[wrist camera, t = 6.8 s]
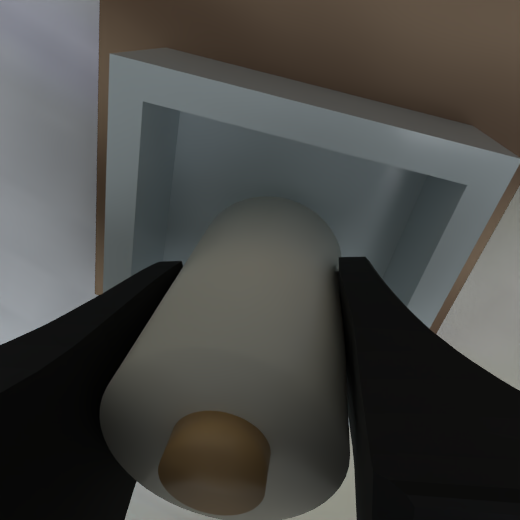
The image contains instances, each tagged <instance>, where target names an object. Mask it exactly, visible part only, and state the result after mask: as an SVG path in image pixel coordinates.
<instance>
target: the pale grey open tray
mask: <svg viewBox="0 0 520 520" xmlns="http://www.w3.org/2000/svg"><path fill="white" fill-rule="evenodd" d="M519 164H520V157H518V156H517V155H515V154H514V153H512V152H511V151H509V150H508V149H506V148H505V147H503V146H502V145H501V144H499V143H498V142H496V141H495V140H493V139H492V138H490V137H489V136H487V135H486V134H484V133H483V132H481V131H480V130H479V129H477V128H476V127H474V126H472V125H468V124H464V123H460V122H456V121H452V120H448V119H444V118H440V117H437V116H433V115H429V114H425V113H421V112H417V111H413V110H409V109H405V108H401V107H397V106H393V105H389V104H386V103H382V102H378V101H374V100H370V99H366V98H362V97H358V96H354V95H350V94H346V93H342V92H339V91H335V90H331V89H327V88H323V87H319V86H315V85H311V84H307V83H303V82H299V81H295V80H292V79H288V78H284V77H280V76H276V75H272V74H268V73H264V72H260V71H256V70H252V69H248V68H245V67H241V66H237V65H233V64H229V63H225V62H221V61H217V60H213V59H209V58H205V57H201V56H197V55H194V54H190V53H186V52H182V51H178V50H174V49H170V48H156V49H147V50H137V51H128V52H119V53H110V58H109V93H108V129H107V164H106V199H105V235H104V270H103V293H104V292H106V291H107V290H109V289H111V288H112V287H114V286H116V285H117V284H119V283H121V282H122V281H124V280H126V279H127V278H129V277H131V276H132V275H134V274H136V273H138V272H139V271H141V270H143V269H145V268H147V267H149V266H150V265H153V264H155V263H157V262H159V261H182V264H183V266H184V265H185V263H186V261H187V260H188V258H189V257H190V255H191V254H192V252H193V250H194V249H195V247H196V246H197V244H198V242H199V241H200V239H201V238H202V236H203V235H204V233H205V231H206V230H207V228H208V227H209V225H210V224H211V222H212V221H213V220H214V219H215V218H216V216H217V215H218V214H219V213H221V212H222V211H223V210H224V209H226V208H227V207H229V206H231V205H232V204H234V203H236V202H239V201H242V200H244V199H248V198H252V197H261V196H273V197H280V198H285V199H289V200H293V201H295V202H297V203H300V204H302V205H304V206H306V207H307V208H309V209H311V210H312V211H314V212H315V213H316V214H318V215H319V216H320V217H321V218H322V219H323V220H324V221H325V222H326V223H327V225H328V226H329V227H330V228H331V230H332V232H333V233H334V235H335V237H336V239H337V241H338V244H339V247H340V251H341V257H366V258H367V259H368V260H369V261H370V262H371V264H372V265H373V267H374V268H375V270H376V271H377V273H378V274H379V275H380V277H381V278H382V279H383V280H384V282H385V283H386V284H387V285H388V287H389V288H390V289H391V290H392V291H393V292H394V293H395V295H396V296H397V297H398V298H399V299H400V300H401V301H402V302H403V303H404V305H405V306H406V307H407V308H408V309H409V310H410V311H411V312H412V313H413V314H414V315H415V316H416V317H417V318H418V319H420V320H421V321H422V322H423V323H424V324H425V325H426V326H427V327H428V328H429V329H430V327H431V325H432V323H433V321H434V320H435V318H436V316H437V314H438V312H439V310H440V309H441V307H442V305H443V303H444V301H445V299H446V298H447V296H448V294H449V292H450V290H451V288H452V287H453V285H454V283H455V281H456V279H457V278H458V276H459V274H460V272H461V270H462V268H463V267H464V265H465V263H466V261H467V259H468V257H469V256H470V254H471V252H472V250H473V248H474V246H475V245H476V243H477V241H478V239H479V237H480V236H481V234H482V232H483V230H484V228H485V226H486V225H487V223H488V221H489V219H490V217H491V215H492V214H493V212H494V210H495V208H496V206H497V204H498V203H499V201H500V199H501V197H502V195H503V193H504V192H505V190H506V188H507V186H508V184H509V183H510V181H511V179H512V177H513V175H514V173H515V172H516V170H517V168H518V166H519ZM348 420H349V417H348ZM349 426H350V424H349Z"/></svg>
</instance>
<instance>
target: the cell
mask: <svg viewBox="0 0 520 520" xmlns="http://www.w3.org/2000/svg"><path fill="white" fill-rule="evenodd" d="M339 257H341V251H340V247H339V244H338V241H337V239H336V237H335V235H334V233H333V232H332V230H331V228H330V227H329V226H328V225H327V223H326V222H325V221H324V220H323V219H322V218H321V217H320V216H319V215H318V214H316V213H315V212H314V211H312V210H311V209H309V208H307V207H306V206H304V205H302V204H300V203H297V202H295V201H293V200H289V199H285V198H280V197H273V196H261V197H252V198H248V199H244V200H242V201H239V202H236V203H234V204H232V205H231V206H229V207H227V208H226V209H224V210H223V211H222V212H221V213H219V214H218V215H217V216H216V218H215V219H214V220H213V221H212V222H211V224H210V225H209V227H208V228H207V230H206V231H205V233H204V235H203V236H202V238H201V239H200V241H199V242H198V244H197V246H196V247H195V249H194V250H193V252H192V254H191V255H190V257H189V258H188V260H187V261H186V263H185V265H184V266H183V268H182V269H181V271H180V272H179V274H178V276H177V277H176V279H175V280H174V282H173V283H172V285H171V287H170V288H169V290H168V291H167V293H166V294H165V296H164V298H163V299H162V301H161V302H160V304H159V306H158V307H157V309H156V310H155V312H154V313H153V315H152V317H151V318H150V320H149V321H148V323H147V324H146V326H145V328H144V329H143V331H142V332H141V334H140V335H139V337H138V339H137V340H136V342H135V343H134V345H133V346H132V348H131V350H130V351H129V353H128V354H127V356H126V358H125V359H124V361H123V362H122V364H121V365H120V367H119V369H118V370H117V372H116V373H115V375H114V376H113V378H112V380H111V381H110V383H109V384H108V386H107V388H106V390H105V392H104V394H103V396H102V400H101V404H100V417H99V418H100V425H101V430H102V433H103V436H104V439H105V441H106V443H107V445H108V448H109V450H110V451H111V453H112V454H113V456H114V457H115V459H116V460H117V461H118V463H119V464H120V465H121V466H122V467H123V468H124V470H125V471H126V472H127V473H129V474H130V475H131V476H132V477H133V478H134V479H135V480H136V481H137V482H139V483H140V484H141V485H142V486H144V487H145V488H147V489H148V490H150V491H151V492H153V493H154V494H156V495H157V496H159V497H161V498H163V499H165V500H166V501H168V502H170V503H173V504H175V505H177V506H179V507H181V508H184V509H187V510H189V511H192V512H195V513H198V514H202V515H205V516H209V517H213V518H218V519H223V520H282V519H287V518H292V517H295V516H298V515H301V514H304V513H306V512H308V511H310V510H313V509H315V508H316V507H318V506H320V505H321V504H323V503H324V502H326V501H327V500H328V499H329V498H330V497H331V496H333V495H334V493H335V492H336V491H337V490H338V489H339V487H340V486H341V484H342V482H343V481H344V479H345V477H346V474H347V471H348V467H349V460H350V444H349V420H348V396H347V372H346V348H345V335H344V326H343V318H342V310H341V302H340V295H339Z"/></svg>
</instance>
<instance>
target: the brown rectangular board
mask: <svg viewBox="0 0 520 520" xmlns="http://www.w3.org/2000/svg"><path fill="white" fill-rule="evenodd" d="M156 48H170V49H174V50H178V51H182V52H186V53H190V54H194V55H197V56H201V57H205V58H209V59H213V60H217V61H221V62H225V63H229V64H233V65H237V66H241V67H245V68H248V69H252V70H256V71H260V72H264V73H268V74H272V75H276V76H280V77H284V78H288V79H292V80H295V81H299V82H303V83H307V84H311V85H315V86H319V87H323V88H327V89H331V90H335V91H339V92H342V93H346V94H350V95H354V96H358V97H362V98H366V99H370V100H374V101H378V102H382V103H386V104H389V105H393V106H397V107H401V108H405V109H409V110H413V111H417V112H421V113H425V114H429V115H433V116H437V117H440V118H444V119H448V120H452V121H456V122H460V123H464V124H468V125H472V126H474V127H476V128H477V129H479V130H480V131H481V132H483V133H484V134H486V135H487V136H489V137H490V138H492V139H493V140H495V141H496V142H498V143H499V144H501V145H502V146H503V147H505V148H506V149H508V150H509V151H511V152H512V153H514V154H515V155H517V156H518V157H520V0H100V20H99V80H98V141H97V201H96V262H95V294H97V295H101V294H102V293H103V270H104V235H105V199H106V164H107V129H108V93H109V58H110V53H119V52H128V51H137V50H147V49H156ZM519 185H520V164H519V166H518V168H517V170H516V172H515V173H514V175H513V177H512V179H511V181H510V183H509V184H508V186H507V188H506V190H505V192H504V193H503V195H502V197H501V199H500V201H499V203H498V204H497V206H496V208H495V210H494V212H493V214H492V215H491V217H490V219H489V221H488V223H487V225H486V226H485V228H484V230H483V232H482V234H481V236H480V237H479V239H478V241H477V243H476V245H475V246H474V248H473V250H472V252H471V254H470V256H469V257H468V259H467V261H466V263H465V265H464V267H463V268H462V270H461V272H460V274H459V276H458V278H457V279H456V281H455V283H454V285H453V287H452V288H451V290H450V292H449V294H448V296H447V298H446V299H445V301H444V303H443V305H442V307H441V309H440V310H439V312H438V314H437V316H436V318H435V320H434V321H433V323H432V325H431V327H430V330H431V331H433V332H434V333H435V334H436V333H437V331H438V329H439V328H440V326H441V324H442V322H443V321H444V319H445V317H446V315H447V313H448V312H449V310H450V308H451V306H452V305H453V303H454V301H455V299H456V297H457V296H458V294H459V292H460V290H461V289H462V287H463V285H464V283H465V281H466V280H467V278H468V276H469V274H470V273H471V271H472V269H473V267H474V265H475V264H476V262H477V260H478V258H479V257H480V255H481V253H482V251H483V249H484V248H485V246H486V244H487V242H488V241H489V239H490V237H491V235H492V233H493V232H494V230H495V228H496V226H497V225H498V223H499V221H500V219H501V217H502V216H503V214H504V212H505V210H506V209H507V207H508V205H509V203H510V201H511V200H512V198H513V196H514V194H515V193H516V191H517V189H518V187H519Z"/></svg>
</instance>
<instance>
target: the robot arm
mask: <svg viewBox="0 0 520 520" xmlns="http://www.w3.org/2000/svg"><path fill="white" fill-rule="evenodd" d="M182 268H183V264H182V261H159V262H157V263H155V264H153V265H150V266H149V267H147V268H145V269H143V270H141V271H139V272H138V273H136V274H134V275H132V276H131V277H129V278H127V279H126V280H124V281H122V282H121V283H119V284H117V285H116V286H114V287H112V288H111V289H109V290H107V291H106V292H104V293H102V294H101V295H99V296H97V297H96V298H94V299H92V300H90V301H88V302H87V303H85V304H83V305H81V306H79V307H77V308H76V309H74V310H72V311H70V312H68V313H67V314H65V315H63V316H61V317H59V318H58V319H56V320H54V321H52V322H50V323H48V324H46V325H44V326H42V327H40V328H37V329H35V330H33V331H31V332H29V333H27V334H24V335H22V336H20V337H18V338H16V339H13V340H11V341H9V342H7V343H4V344H2V345H0V520H124V519H125V516H126V513H127V510H128V506H129V503H130V500H131V496H132V493H133V490H134V487H135V484H136V480H135V479H134V478H133V477H132V476H131V475H130V474H129V473H127V472H126V471H125V470H124V468H123V467H122V466H121V465H120V464H119V463H118V461H117V460H116V459H115V457H114V456H113V454H112V453H111V451H110V450H109V448H108V445H107V443H106V441H105V439H104V436H103V433H102V430H101V425H100V418H99V417H100V404H101V400H102V396H103V394H104V392H105V390H106V388H107V386H108V384H109V383H110V381H111V380H112V378H113V376H114V375H115V373H116V372H117V370H118V369H119V367H120V365H121V364H122V362H123V361H124V359H125V358H126V356H127V354H128V353H129V351H130V350H131V348H132V346H133V345H134V343H135V342H136V340H137V339H138V337H139V335H140V334H141V332H142V331H143V329H144V328H145V326H146V324H147V323H148V321H149V320H150V318H151V317H152V315H153V313H154V312H155V310H156V309H157V307H158V306H159V304H160V302H161V301H162V299H163V298H164V296H165V294H166V293H167V291H168V290H169V288H170V287H171V285H172V283H173V282H174V280H175V279H176V277H177V276H178V274H179V272H180V271H181V269H182ZM339 295H340V302H341V310H342V318H343V326H344V335H345V348H346V372H347V396H348V417H349V424H350V432H351V439H352V446H353V456H354V468H355V490H356V512H357V520H520V391H519V390H517V389H516V388H514V387H512V386H510V385H509V384H507V383H505V382H504V381H502V380H500V379H499V378H497V377H496V376H494V375H493V374H491V373H489V372H488V371H486V370H485V369H483V368H482V367H480V366H479V365H477V364H476V363H474V362H472V361H471V360H470V359H468V358H467V357H465V356H464V355H462V354H461V353H460V352H458V351H457V350H455V349H454V348H453V347H452V346H450V345H449V344H448V343H447V342H445V341H444V340H443V339H441V338H440V337H439V336H438V335H436V334H435V333H434V332H433V331H431V330H430V329H429V328H428V327H427V326H426V325H425V324H424V323H423V322H422V321H421V320H420V319H418V318H417V317H416V316H415V315H414V314H413V313H412V312H411V311H410V310H409V309H408V308H407V307H406V306H405V305H404V303H403V302H402V301H401V300H400V299H399V298H398V297H397V296H396V295H395V293H394V292H393V291H392V290H391V289H390V288H389V287H388V285H387V284H386V283H385V282H384V280H383V279H382V278H381V277H380V275H379V274H378V273H377V271H376V270H375V268H374V267H373V265H372V264H371V262H370V261H369V260H368V259H367V258H366V257H339Z"/></svg>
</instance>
